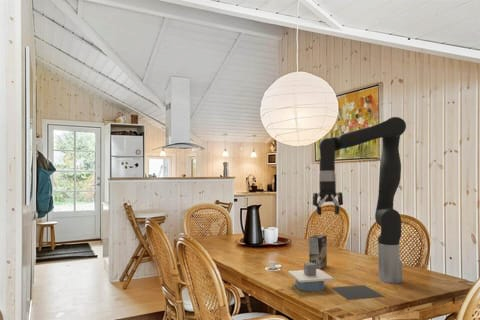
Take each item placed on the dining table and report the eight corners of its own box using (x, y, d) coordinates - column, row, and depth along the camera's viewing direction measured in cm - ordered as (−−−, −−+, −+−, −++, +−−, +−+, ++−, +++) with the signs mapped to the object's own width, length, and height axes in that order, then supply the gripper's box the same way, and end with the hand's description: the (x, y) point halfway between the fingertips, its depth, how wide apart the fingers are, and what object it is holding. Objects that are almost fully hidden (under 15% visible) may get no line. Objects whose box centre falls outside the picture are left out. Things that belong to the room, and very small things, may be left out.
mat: (364, 286, 165) (364, 284, 165) (385, 298, 149) (385, 296, 149) (330, 288, 161) (330, 287, 161) (348, 301, 146) (348, 299, 146)
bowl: (317, 283, 170) (317, 271, 170) (328, 291, 158) (328, 279, 158) (292, 284, 167) (292, 273, 168) (301, 293, 156) (301, 281, 156)
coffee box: (320, 269, 193) (319, 238, 193) (309, 267, 197) (308, 237, 197) (327, 265, 200) (326, 235, 201) (316, 264, 204) (315, 234, 205)
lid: (319, 270, 172) (319, 259, 172) (333, 280, 157) (333, 267, 157) (288, 272, 169) (287, 261, 169) (299, 282, 154) (299, 269, 154)
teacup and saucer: (280, 267, 199) (280, 259, 199) (282, 271, 191) (282, 263, 191) (264, 267, 199) (264, 260, 199) (265, 271, 191) (265, 263, 191)
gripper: (337, 179, 183) (338, 213, 182) (310, 180, 180) (310, 214, 179) (345, 180, 175) (345, 215, 175) (316, 180, 173) (317, 216, 172)
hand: (328, 214), depth 177 cm, fingers open, 8 cm apart
